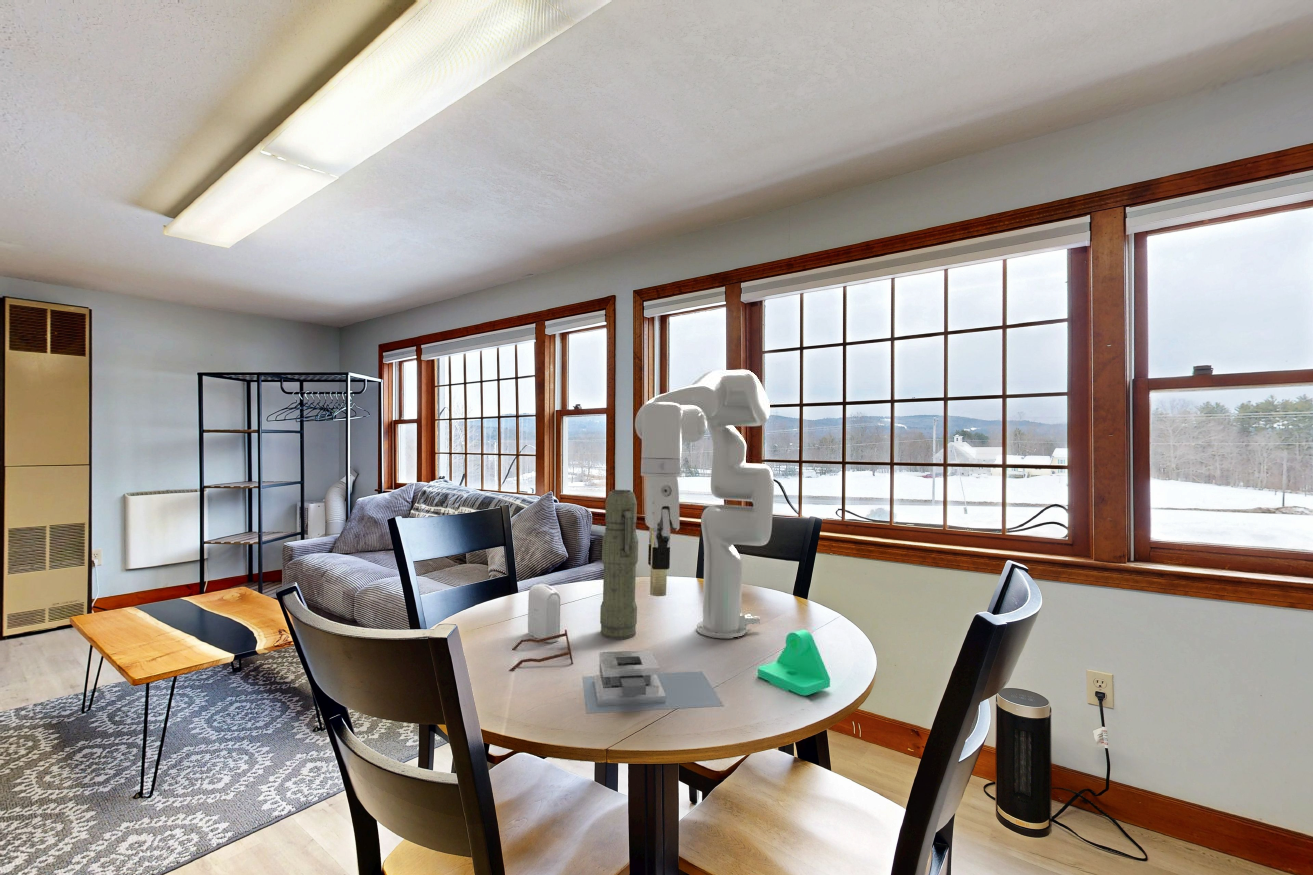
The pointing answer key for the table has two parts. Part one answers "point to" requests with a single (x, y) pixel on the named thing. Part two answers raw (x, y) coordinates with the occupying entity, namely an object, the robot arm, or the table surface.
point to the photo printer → (543, 612)
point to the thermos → (619, 566)
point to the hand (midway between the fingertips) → (658, 566)
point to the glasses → (544, 657)
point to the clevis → (628, 679)
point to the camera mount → (797, 666)
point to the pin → (657, 575)
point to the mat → (678, 691)
